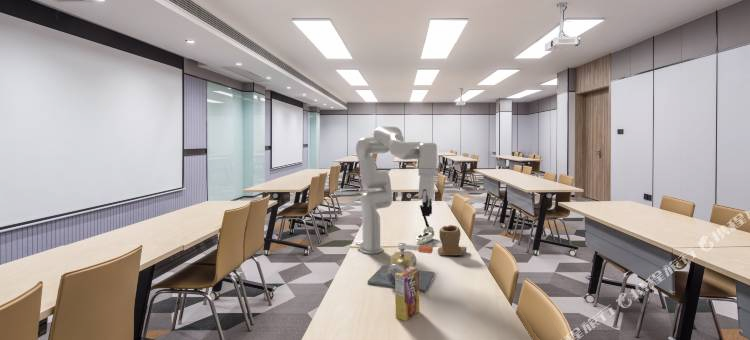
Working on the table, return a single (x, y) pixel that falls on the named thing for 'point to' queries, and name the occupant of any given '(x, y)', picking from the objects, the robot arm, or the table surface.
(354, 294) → the table surface
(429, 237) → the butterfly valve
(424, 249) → the valve lever
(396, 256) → the valve body
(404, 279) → the candy box
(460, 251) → the stone cup
